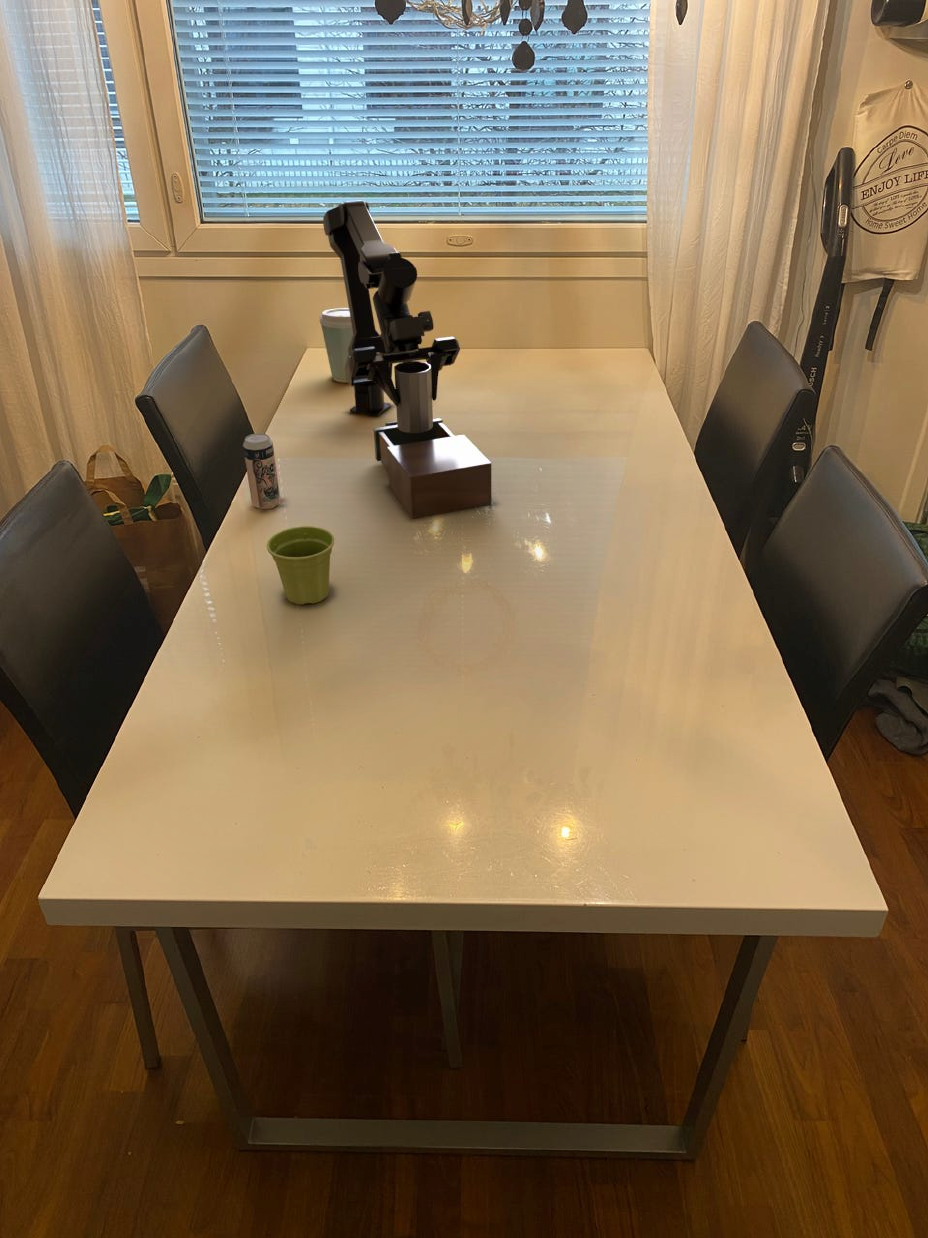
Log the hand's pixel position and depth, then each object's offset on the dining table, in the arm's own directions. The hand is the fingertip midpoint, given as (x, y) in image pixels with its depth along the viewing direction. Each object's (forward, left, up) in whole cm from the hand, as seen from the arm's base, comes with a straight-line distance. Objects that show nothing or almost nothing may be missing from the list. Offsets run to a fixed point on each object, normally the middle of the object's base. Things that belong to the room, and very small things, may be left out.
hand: (416, 402), depth 164 cm
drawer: (-3, -2, -13) cm, 13 cm away
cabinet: (+6, +7, -13) cm, 16 cm away
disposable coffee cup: (-39, -38, -14) cm, 56 cm away
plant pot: (+43, +3, -14) cm, 45 cm away
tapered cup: (-1, -1, -5) cm, 5 cm away
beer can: (+21, -19, -14) cm, 31 cm away
